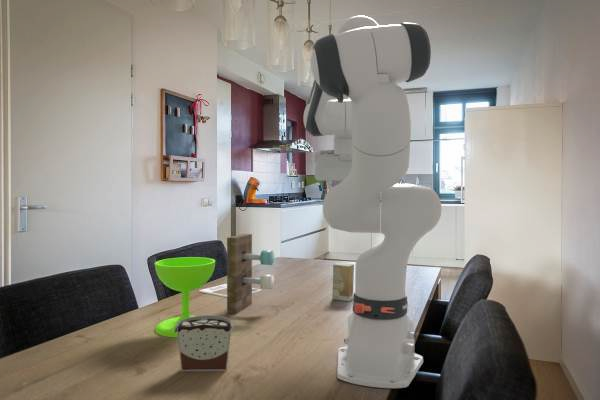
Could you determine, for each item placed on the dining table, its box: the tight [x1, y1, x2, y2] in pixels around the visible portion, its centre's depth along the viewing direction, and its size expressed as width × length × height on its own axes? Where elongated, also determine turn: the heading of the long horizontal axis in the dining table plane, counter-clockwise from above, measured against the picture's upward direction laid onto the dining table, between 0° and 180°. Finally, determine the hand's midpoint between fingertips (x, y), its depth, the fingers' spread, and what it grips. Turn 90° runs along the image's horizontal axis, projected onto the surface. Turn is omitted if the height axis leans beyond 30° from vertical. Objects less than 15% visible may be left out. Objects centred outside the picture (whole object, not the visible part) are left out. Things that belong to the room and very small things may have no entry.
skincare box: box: [331, 262, 355, 302], centre depth 150 cm, size 6×4×12 cm
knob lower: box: [242, 274, 275, 290], centre depth 137 cm, size 13×4×4 cm, turn 73°
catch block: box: [226, 233, 253, 315], centre depth 138 cm, size 3×12×23 cm, turn 163°
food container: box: [174, 314, 235, 372], centre depth 93 cm, size 12×6×10 cm, turn 92°
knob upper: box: [242, 249, 275, 266], centre depth 136 cm, size 13×4×4 cm, turn 73°
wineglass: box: [154, 256, 216, 338], centre depth 119 cm, size 16×16×18 cm
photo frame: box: [198, 283, 263, 298], centre depth 161 cm, size 15×1×18 cm
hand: (348, 196), depth 130 cm, fingers open, 8 cm apart
